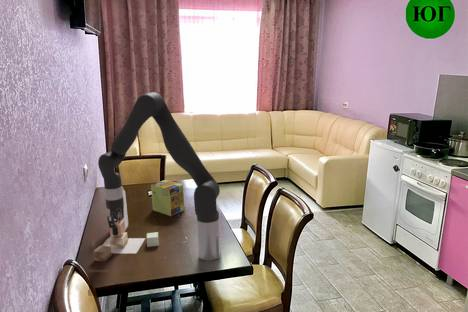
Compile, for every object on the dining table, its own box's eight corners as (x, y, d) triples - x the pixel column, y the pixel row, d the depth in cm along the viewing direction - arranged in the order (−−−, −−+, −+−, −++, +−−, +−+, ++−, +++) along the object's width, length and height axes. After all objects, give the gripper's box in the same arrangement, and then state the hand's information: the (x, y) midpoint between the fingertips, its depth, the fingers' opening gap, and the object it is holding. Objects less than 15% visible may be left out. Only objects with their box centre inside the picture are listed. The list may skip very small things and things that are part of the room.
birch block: (128, 242, 169) (127, 232, 168) (123, 248, 164) (122, 238, 162) (115, 242, 170) (114, 232, 168) (110, 248, 164) (109, 238, 163)
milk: (116, 225, 188) (112, 185, 183) (128, 225, 189) (124, 184, 183) (113, 231, 182) (108, 189, 177) (126, 230, 183) (121, 188, 177)
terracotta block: (125, 230, 167) (124, 220, 166) (121, 235, 162) (120, 225, 161) (114, 230, 168) (113, 220, 166) (110, 235, 163) (109, 225, 162)
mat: (145, 239, 173) (145, 238, 173) (136, 254, 159) (136, 253, 159) (108, 239, 174) (108, 238, 174) (95, 254, 160) (95, 253, 160)
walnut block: (111, 257, 158) (110, 246, 157) (105, 263, 153) (104, 252, 152) (101, 255, 159) (100, 245, 158) (94, 261, 155) (93, 251, 153)
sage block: (158, 241, 171) (157, 232, 169) (158, 246, 166) (158, 236, 165) (147, 243, 170) (146, 233, 168) (147, 248, 165) (146, 238, 164)
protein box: (171, 216, 198) (169, 189, 194) (152, 210, 207) (150, 184, 203) (185, 210, 206) (183, 184, 202) (166, 204, 215) (164, 179, 211)
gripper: (116, 202, 154) (120, 239, 158) (127, 190, 167) (131, 225, 172) (99, 202, 154) (103, 239, 158) (111, 190, 168) (115, 225, 172)
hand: (117, 231), depth 165 cm, fingers closed on terracotta block, 5 cm apart
